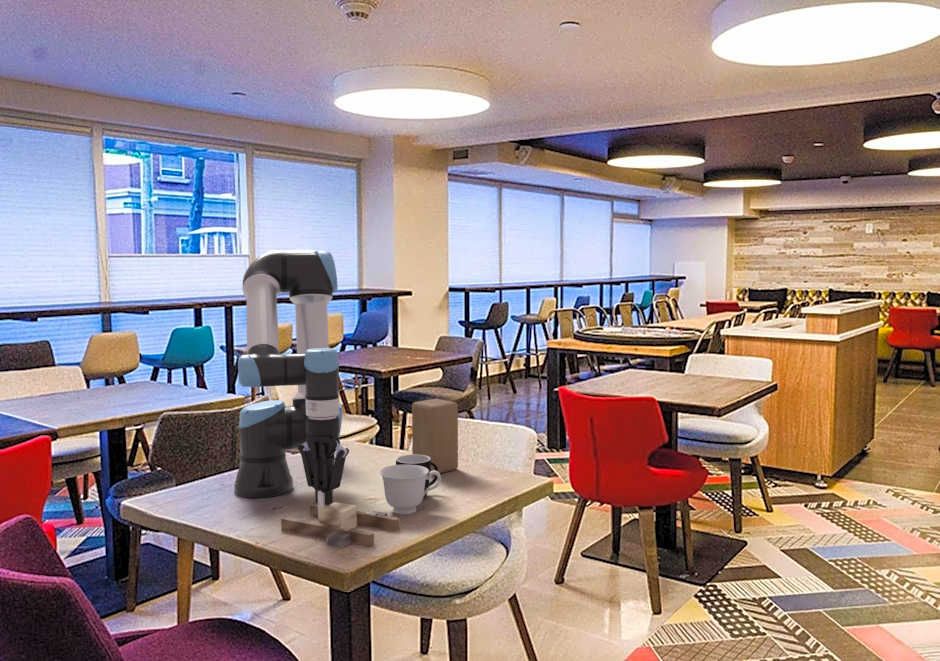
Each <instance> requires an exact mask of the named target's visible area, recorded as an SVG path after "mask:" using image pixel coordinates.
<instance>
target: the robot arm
mask: <svg viewBox="0 0 940 661" xmlns="http://www.w3.org/2000/svg"><path fill="white" fill-rule="evenodd" d="M242 278H243V279H242V293H243V295H244V296H245V298H246V354H243V355H239V356H238V359H237V370H238V372H237V376H238V383H239V385H240V386H241V387H243V388H247V387H249V388H265V387H279V386H281V387H282V386H297V393H296V395H295V396H294V397H293V398H292V405H286V402H284V400H281V399H279V400H278V399H277V400H275V399H274V400H273V399H270V400H264V401H259V402H256V403H251V404H249V405H247V406H245V407H242V409H241V410H240V412H239V424H238V428H239V442H240V443H239V448H240V449H239V450H240V451H239V454H240V455H239V456H240V464H239V467H238V470H237V475H236V476H235V477H236V478H235V480H234V483H233V484H234V486H233V487H234V494H236V495H238V496H240V497H245V498H255V499H256V498H269V497H275V496H280V495H283V494H286V493H289V492H291V491H292V490H293V488H294V480H293V476H292V475H291V471H290V467H289V465H288V463H287V457H286V456H287V455H286V451H287V450H298V452H299V454H300V456H301V460H302V465H303V470H304V474H305V479H306V482H307V486H308V487H311V488H312V489H314V492H315V495H314V496H315V504H318V517H317V518H318V520H319V509H322V508H324V507H326V506H328V505H330V504H332V503H334V500H333V499H334V498H333V493H334V492H333V491H334V490H336V489H338V488H340V487H341V484H342V478H343V473H344V468H345V463H346V458H347V457H348V455H349V452H350V449H349V448H348V447H343V446H342V444H341V440H340V437H341V436H340V435H341V431H342V421H343V420H342V419H343V405H342V403H340V397H339V396H340V395H339V390H340V389H339V375H340V374H339V367H340V361H339V353H338V350H337V349H335V348H331V347H330V346H329V344H330V343H329V323H328V321H329V320H328V318H329V317H328V315H329V314H328V304H329V303H330V302H331V301H332V299H333V294H334V293H337V292H338V289H339V288H338V276H337V270H336V264H335V260H334V257H333V255H332V253H331V252H329V251H328V250H317V249H292V250H291V249H290V250H289V249H287V250H286V249H284V250H281V249H274V250H270V251H266V252H265V253H263V254H261V255H259V256H258V257H257V258H255V260H253V261H252V262H251V263H250V265H249V267H248V268H247V269H246V271H245V272H244V276H243V277H242ZM280 293H282V294H283V293H284V294H285V293H288V295H289V300H290V302H291V303H293V304H294V306H295V326H296V327H295V332H296V333H295V336H296V353H280V346H279V342H280V340H279V325H278V324H279V323H278V321H279V320H278V302H277V301H278V300H277V298H278V297H279V295H280Z"/></svg>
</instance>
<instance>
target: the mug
mask: <svg viewBox="0 0 940 661" xmlns="http://www.w3.org/2000/svg"><path fill="white" fill-rule="evenodd" d="M402 464H410V465H419V466H423V467H426V468H427V469H428V470H429V473H430V470H431V465H432V466H433V467H434V469H435V471H438V468H437V466H436V465H435V464H434V463H432V462H431V459H430V457H428V456H425V455H418V454H413V453H412V454H404V455H399V456H398V457H396V459H395V465H402ZM429 473H428V474H427V476H428V477H429ZM433 476H434V477H433V478H432V480H431V479H430V480H428V479H426V480H425V488H424V491H425V490H426V489H427V488H428V487H430V486H432V485H434V484H435V483H436V482H437V480H438V478H437V476H436V475H433ZM428 492H429V491H428ZM428 492H427V493H426V494H425V495H424V497H423V500H424V499H426V497H427V495H428Z"/></svg>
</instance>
